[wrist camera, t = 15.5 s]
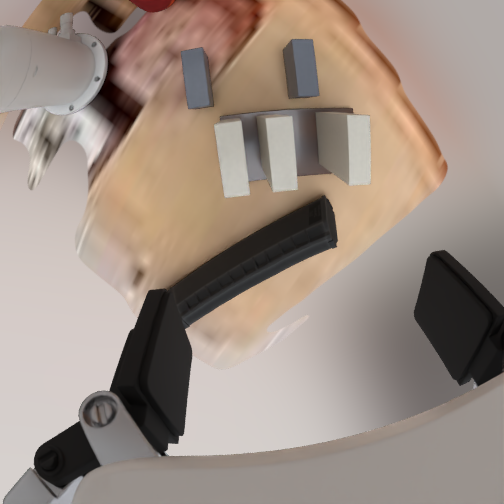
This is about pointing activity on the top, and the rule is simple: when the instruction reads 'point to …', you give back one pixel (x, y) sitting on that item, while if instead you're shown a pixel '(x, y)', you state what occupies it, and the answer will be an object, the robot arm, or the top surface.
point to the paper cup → (153, 4)
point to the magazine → (256, 259)
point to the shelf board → (302, 136)
